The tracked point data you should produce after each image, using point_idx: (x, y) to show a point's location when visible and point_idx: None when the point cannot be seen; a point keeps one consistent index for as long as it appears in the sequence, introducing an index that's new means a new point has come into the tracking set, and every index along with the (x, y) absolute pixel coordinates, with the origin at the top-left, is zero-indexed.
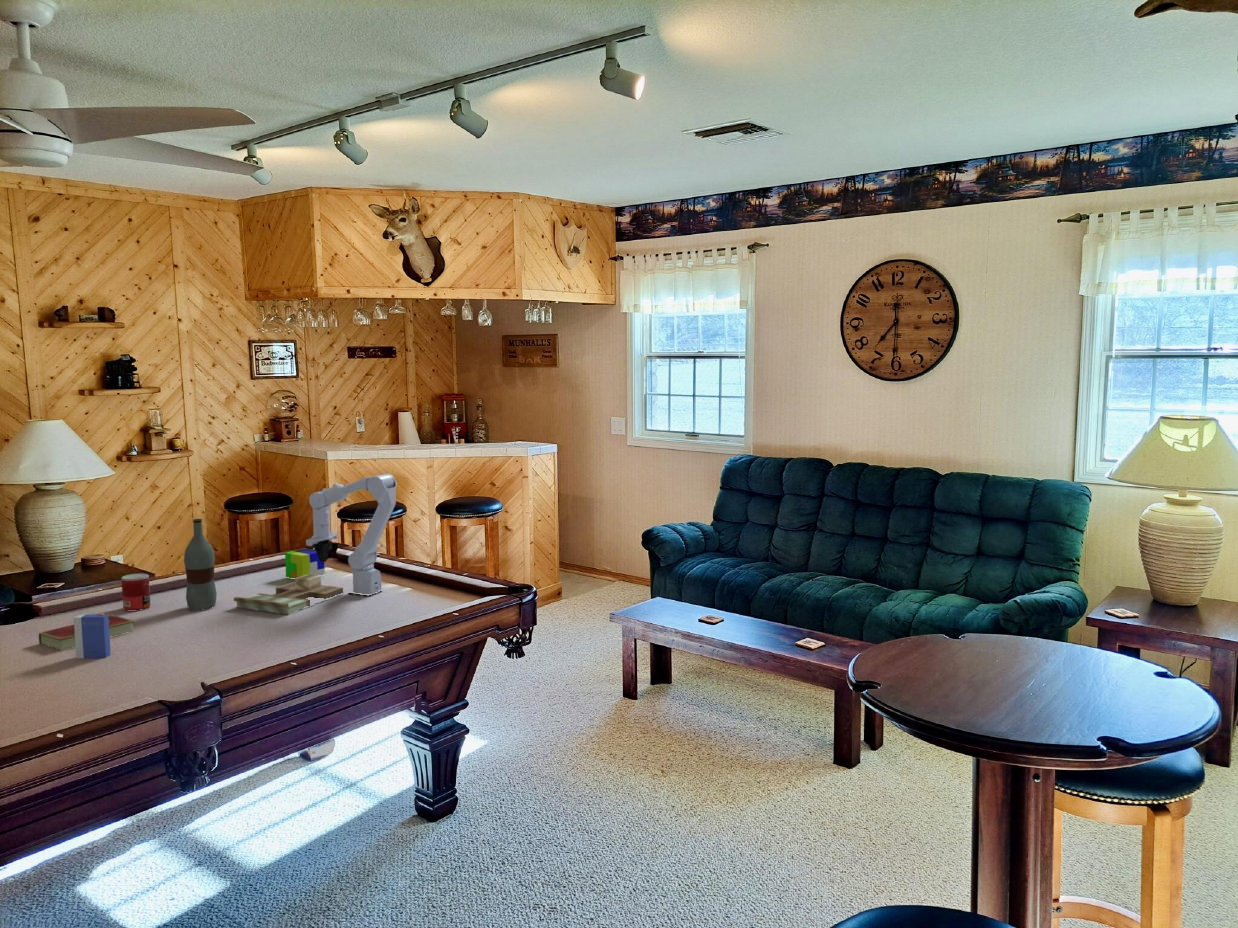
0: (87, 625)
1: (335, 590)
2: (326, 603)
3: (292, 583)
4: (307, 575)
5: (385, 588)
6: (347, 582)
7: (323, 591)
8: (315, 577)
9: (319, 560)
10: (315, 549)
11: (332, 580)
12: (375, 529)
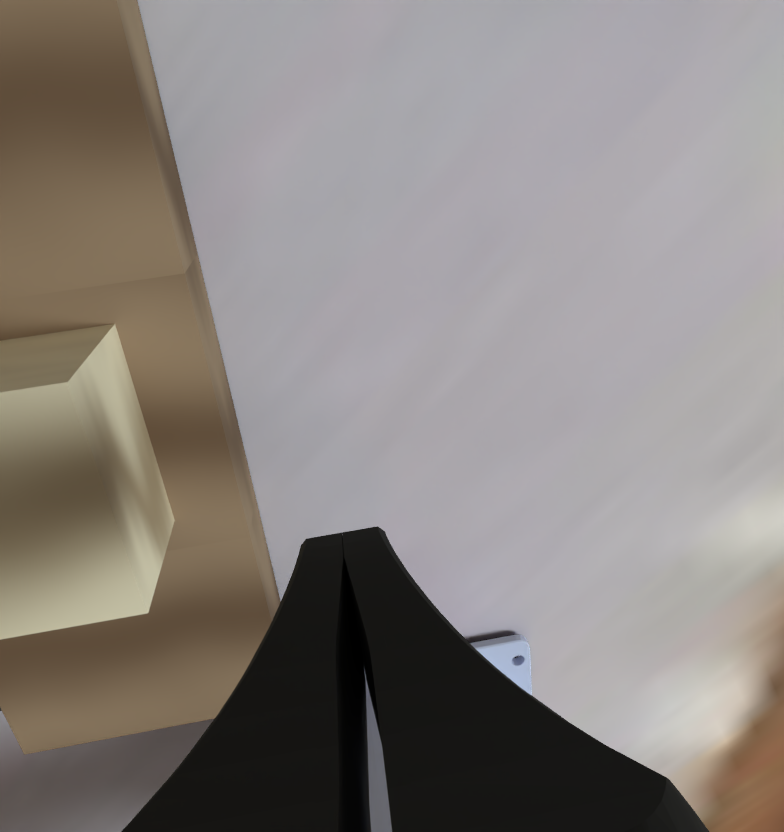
0: None
1: (177, 723)
2: (3, 750)
3: (17, 20)
4: (25, 447)
5: (611, 742)
6: (679, 344)
7: (65, 678)
8: (39, 628)
9: (299, 556)
10: (183, 773)
11: (706, 104)
12: None
